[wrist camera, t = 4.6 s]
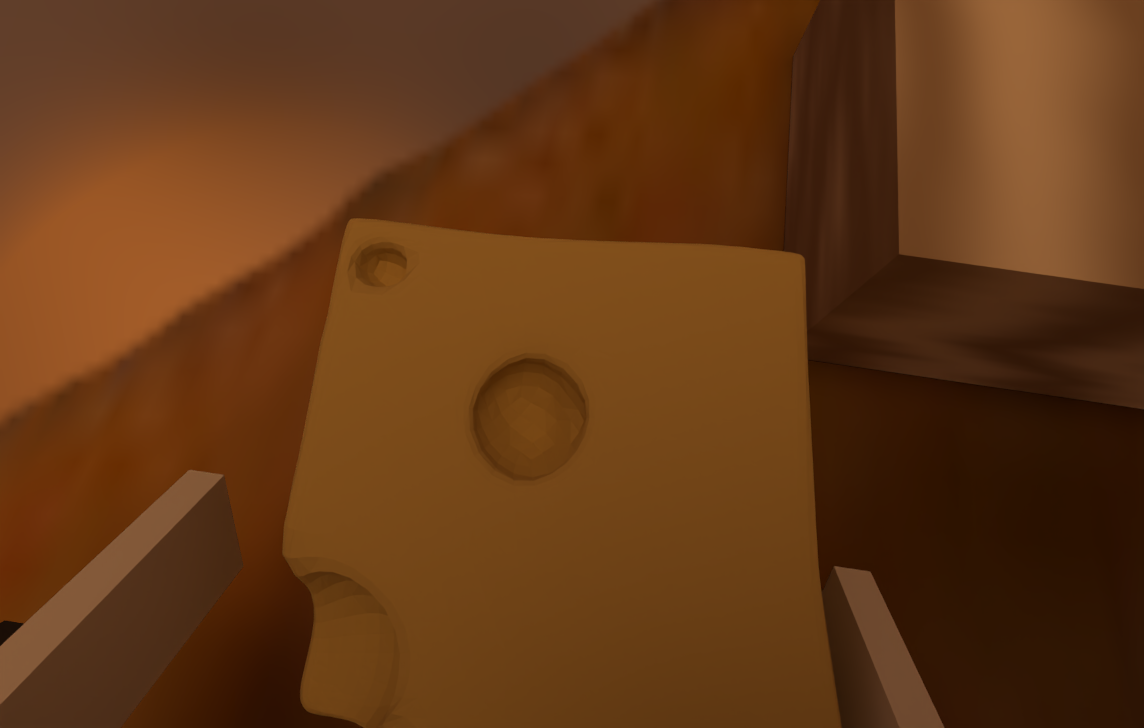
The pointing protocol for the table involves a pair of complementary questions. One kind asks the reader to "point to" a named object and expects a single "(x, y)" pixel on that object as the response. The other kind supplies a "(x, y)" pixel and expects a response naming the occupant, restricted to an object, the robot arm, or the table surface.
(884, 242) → the chevron patterned block
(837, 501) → the table surface
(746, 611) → the cheese
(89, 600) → the robot arm
